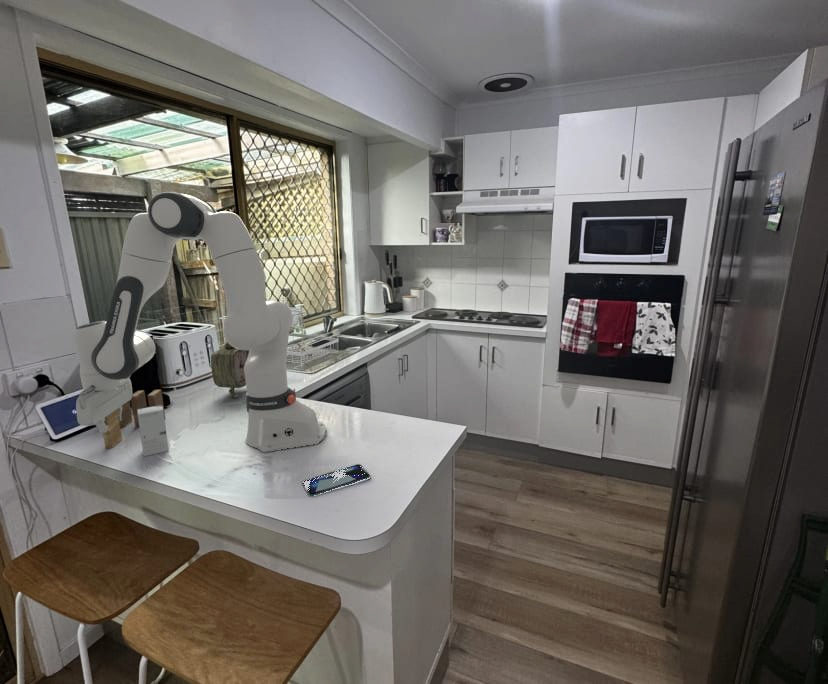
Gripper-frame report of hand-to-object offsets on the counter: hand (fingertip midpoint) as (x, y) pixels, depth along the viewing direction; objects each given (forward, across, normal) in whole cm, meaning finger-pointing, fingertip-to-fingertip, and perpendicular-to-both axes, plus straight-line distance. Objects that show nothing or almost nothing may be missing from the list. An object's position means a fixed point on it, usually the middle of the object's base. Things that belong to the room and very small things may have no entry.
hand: (111, 427), depth 121 cm
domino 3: (+5, +14, -6) cm, 16 cm away
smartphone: (+6, -28, -64) cm, 70 cm away
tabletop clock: (+5, +38, -23) cm, 45 cm away
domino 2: (+5, +14, -1) cm, 15 cm away
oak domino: (+5, 0, 0) cm, 5 cm away
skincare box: (+5, -6, -14) cm, 16 cm away
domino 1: (+5, +14, +4) cm, 15 cm away
